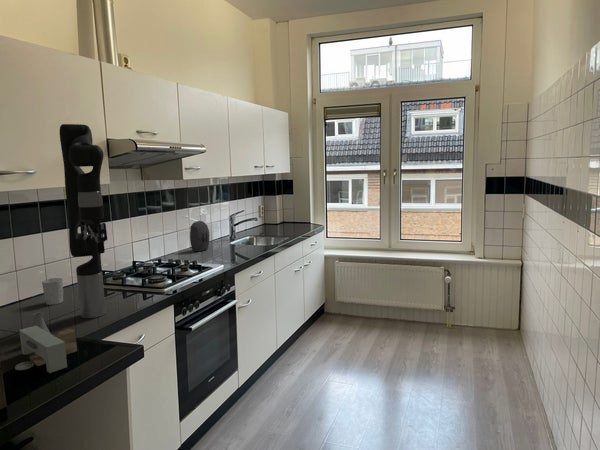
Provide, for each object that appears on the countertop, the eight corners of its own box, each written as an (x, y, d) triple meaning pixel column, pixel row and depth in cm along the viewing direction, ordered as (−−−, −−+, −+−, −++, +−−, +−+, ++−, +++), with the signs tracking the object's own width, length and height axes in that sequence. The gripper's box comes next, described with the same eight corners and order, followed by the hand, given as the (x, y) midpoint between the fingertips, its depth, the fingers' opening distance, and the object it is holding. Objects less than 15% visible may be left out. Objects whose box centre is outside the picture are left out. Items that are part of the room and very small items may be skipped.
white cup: (54, 306, 198) (51, 283, 196) (40, 304, 200) (37, 282, 199) (68, 300, 205) (66, 278, 203) (55, 299, 207) (52, 277, 206)
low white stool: (19, 354, 149) (16, 330, 148) (38, 348, 153) (36, 325, 152) (46, 374, 135) (43, 348, 134) (67, 367, 139) (64, 341, 138)
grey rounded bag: (204, 248, 314) (202, 218, 311) (213, 249, 310) (212, 219, 307) (188, 252, 301) (186, 222, 298) (198, 253, 297) (196, 222, 294)
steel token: (13, 367, 140) (12, 365, 140) (31, 362, 144) (31, 359, 144) (18, 372, 137) (17, 370, 137) (36, 367, 141) (36, 364, 140)
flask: (56, 336, 163) (53, 309, 162) (46, 345, 156) (43, 316, 155) (36, 337, 163) (32, 310, 162) (24, 346, 156) (21, 317, 154)
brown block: (30, 360, 144) (27, 339, 143) (71, 347, 154) (69, 327, 153) (37, 366, 140) (35, 344, 139) (79, 352, 150) (77, 331, 149)
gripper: (111, 204, 155) (115, 252, 157) (92, 202, 164) (96, 247, 167) (89, 207, 149) (94, 256, 152) (70, 204, 159) (75, 251, 161)
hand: (95, 251), depth 159 cm, fingers open, 8 cm apart
